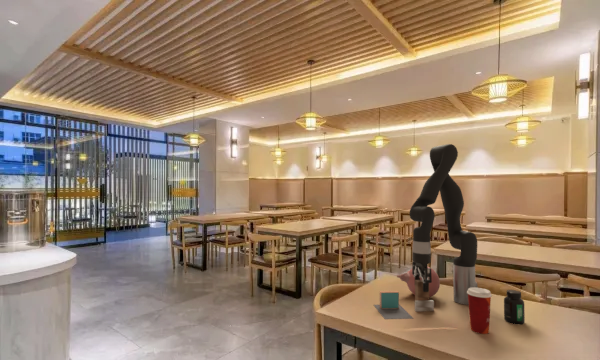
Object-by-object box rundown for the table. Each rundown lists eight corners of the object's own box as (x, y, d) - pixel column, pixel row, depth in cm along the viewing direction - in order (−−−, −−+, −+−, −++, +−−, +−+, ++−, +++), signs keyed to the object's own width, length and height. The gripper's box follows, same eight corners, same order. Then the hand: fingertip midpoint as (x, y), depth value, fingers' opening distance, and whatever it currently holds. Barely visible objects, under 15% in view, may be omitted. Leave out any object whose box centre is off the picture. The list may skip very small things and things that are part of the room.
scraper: (429, 309, 140) (429, 279, 141) (433, 312, 136) (433, 282, 137) (411, 309, 140) (411, 279, 140) (415, 313, 136) (415, 282, 136)
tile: (397, 306, 141) (397, 290, 141) (399, 308, 139) (398, 292, 139) (379, 307, 141) (379, 291, 141) (381, 308, 139) (381, 292, 139)
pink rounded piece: (396, 290, 167) (396, 260, 168) (437, 293, 161) (437, 263, 162) (396, 299, 153) (396, 267, 153) (442, 304, 147) (441, 270, 147)
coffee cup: (497, 335, 115) (496, 293, 116) (474, 335, 115) (473, 293, 116) (484, 325, 124) (483, 286, 124) (463, 325, 124) (462, 286, 124)
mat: (399, 306, 144) (399, 304, 144) (413, 320, 128) (413, 318, 128) (373, 306, 144) (373, 304, 144) (384, 321, 128) (384, 319, 128)
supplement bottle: (525, 326, 123) (524, 295, 123) (504, 322, 126) (503, 292, 127) (523, 320, 129) (523, 290, 129) (503, 316, 132) (503, 287, 133)
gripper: (437, 254, 133) (437, 294, 132) (422, 248, 147) (422, 284, 146) (420, 254, 132) (419, 294, 132) (406, 248, 147) (406, 284, 146)
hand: (421, 288), depth 139 cm, fingers open, 8 cm apart
